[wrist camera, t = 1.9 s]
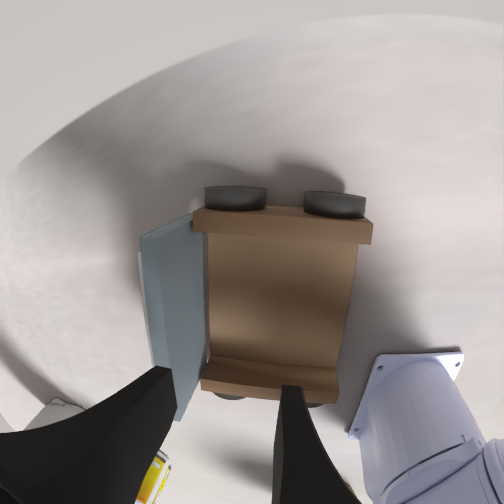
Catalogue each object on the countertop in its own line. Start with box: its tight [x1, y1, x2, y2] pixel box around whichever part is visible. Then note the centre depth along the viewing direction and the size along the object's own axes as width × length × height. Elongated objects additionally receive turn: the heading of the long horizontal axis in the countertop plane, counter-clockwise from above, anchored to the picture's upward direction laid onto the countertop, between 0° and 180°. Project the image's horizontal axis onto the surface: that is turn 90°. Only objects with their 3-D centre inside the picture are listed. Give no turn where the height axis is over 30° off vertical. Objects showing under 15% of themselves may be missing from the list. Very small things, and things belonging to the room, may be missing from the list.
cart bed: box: [193, 186, 373, 408], centre depth 16 cm, size 13×8×4 cm, turn 178°
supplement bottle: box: [135, 451, 171, 504], centre depth 21 cm, size 6×6×10 cm
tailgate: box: [138, 214, 207, 422], centre depth 15 cm, size 10×1×6 cm, turn 178°
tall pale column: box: [23, 398, 85, 431], centre depth 16 cm, size 11×4×22 cm, turn 112°
